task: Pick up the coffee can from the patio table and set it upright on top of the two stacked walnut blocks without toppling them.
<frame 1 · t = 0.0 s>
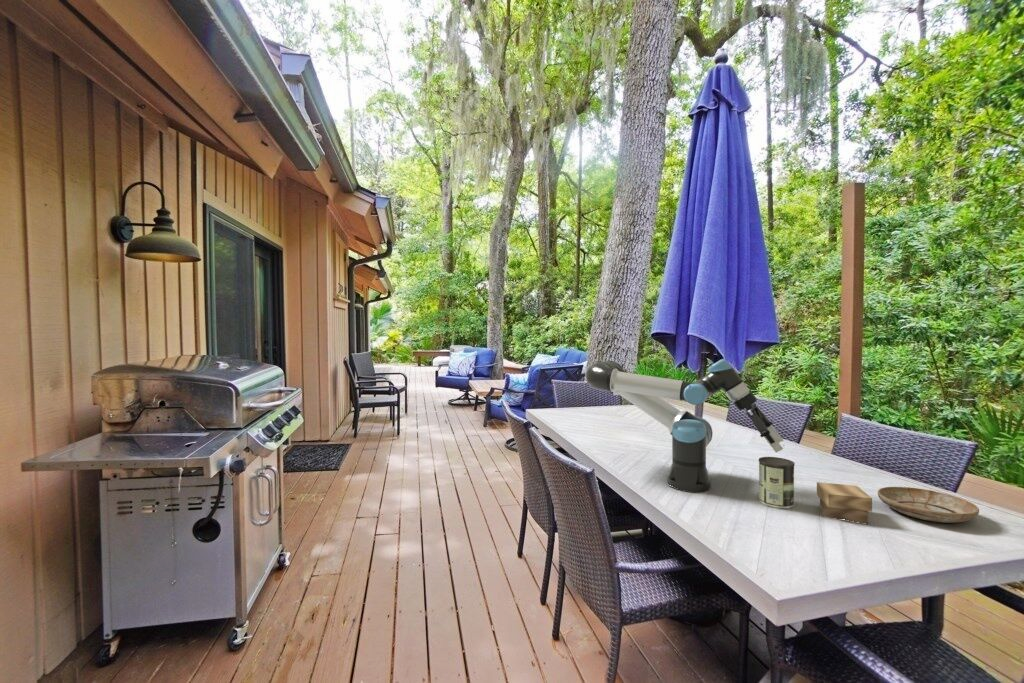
hand: (780, 446, 163), 15 cm above the table, tool tilted 35°, fingers open, 13 cm apart
wooden bowl: (925, 514, 140), on the table
top block: (842, 502, 140), point 4 cm above the table
lower block: (842, 515, 140), on the table
coffee can: (775, 503, 150), on the table
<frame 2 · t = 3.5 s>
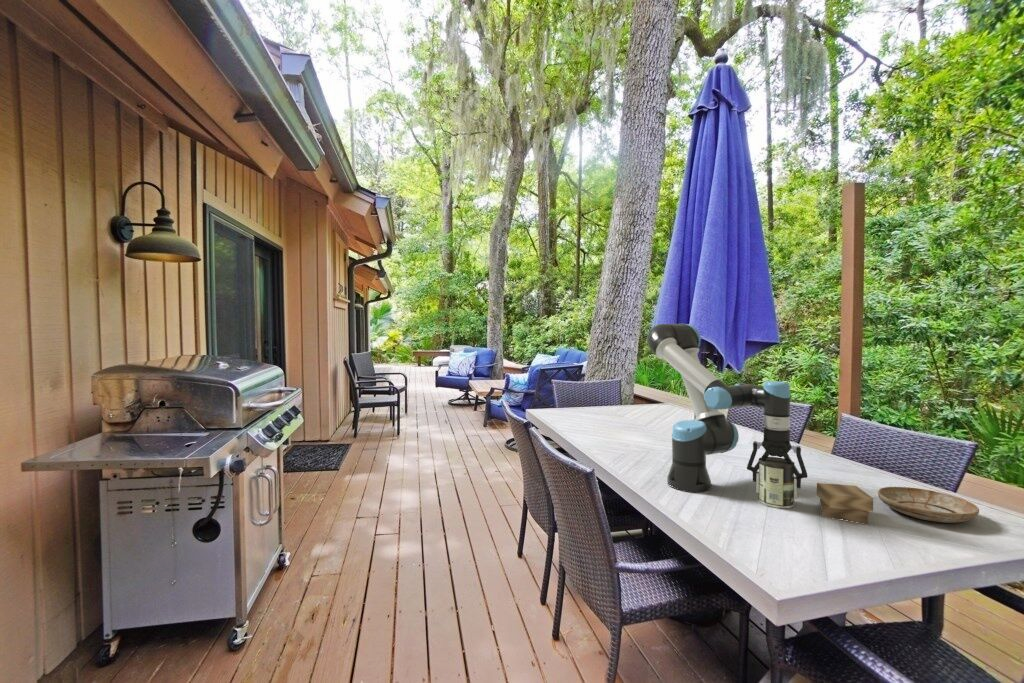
hand: (776, 494, 150), 3 cm above the table, tool pointing down, fingers closed on coffee can, 10 cm apart
coffee can: (775, 503, 150), on the table, touching gripper
everything else where it was.
when the fingers open (12 cm above the table, at t = 8.3 s): coffee can drops 2 cm, resting on top block.
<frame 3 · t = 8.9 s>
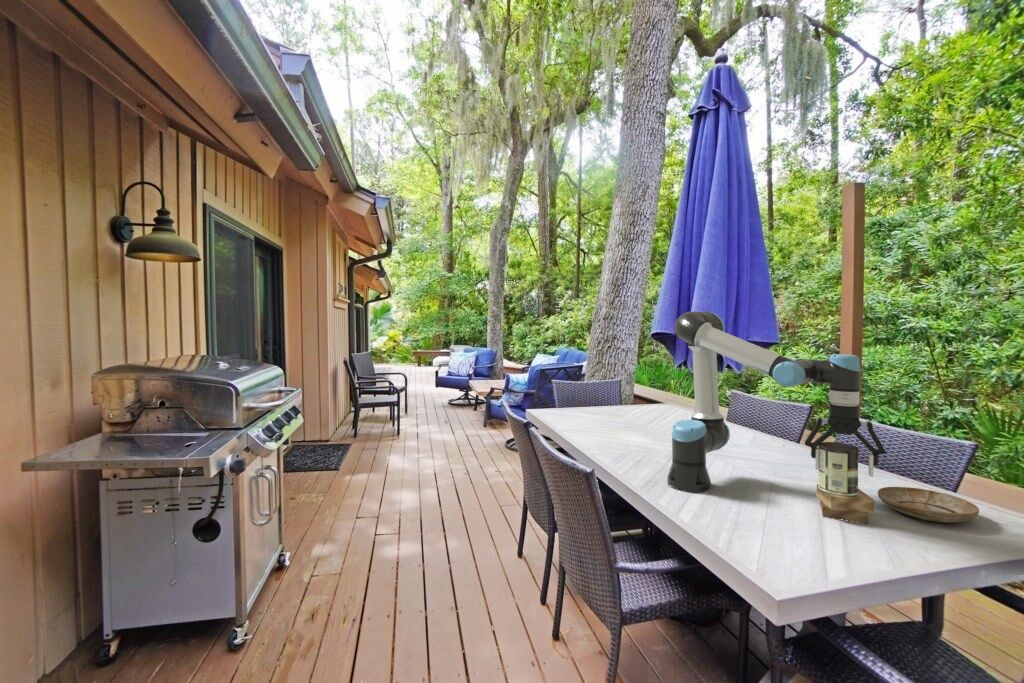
hand: (843, 472, 140), 13 cm above the table, tool pointing down, fingers open, 13 cm apart
top block: (843, 504, 140), point 3 cm above the table, touching coffee can, lower block
lower block: (842, 516, 140), on the table, touching top block
coffee can: (837, 490, 141), point 7 cm above the table, touching top block
everything else where it was.
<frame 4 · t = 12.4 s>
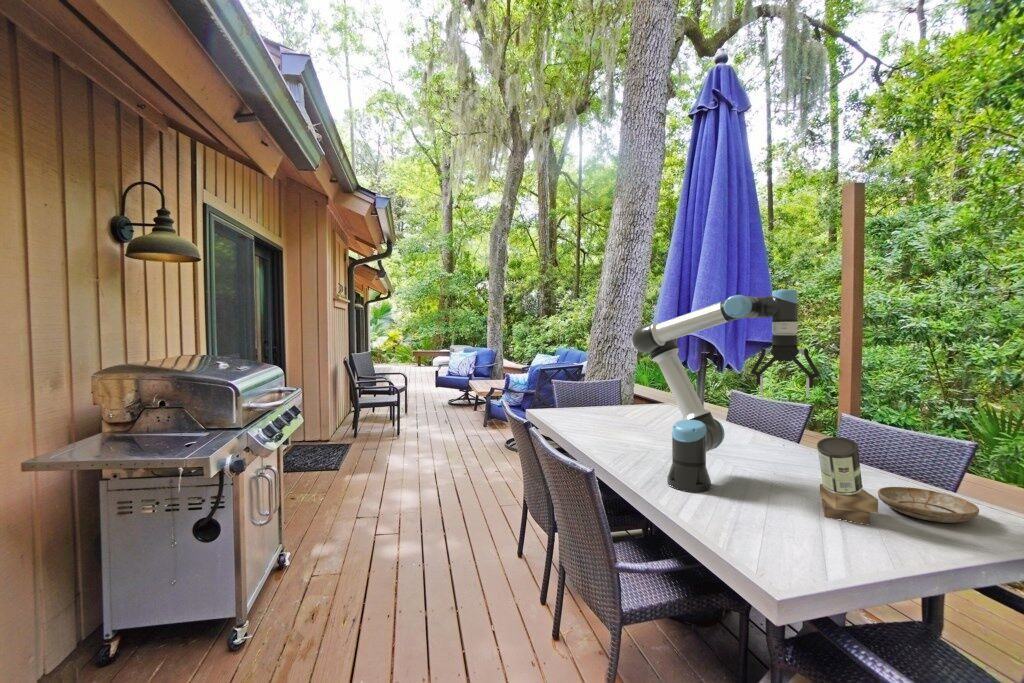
hand: (784, 395, 155), 35 cm above the table, tool pointing down, fingers open, 13 cm apart
top block: (847, 504, 139), point 3 cm above the table
lower block: (844, 516, 140), on the table
coffee can: (841, 485, 140), point 9 cm above the table
everything else where it was.
at the end: coffee can 1.5 cm from the top block (horizontally); coffee can point 9.1 cm above the table; top block tilted 0° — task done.
